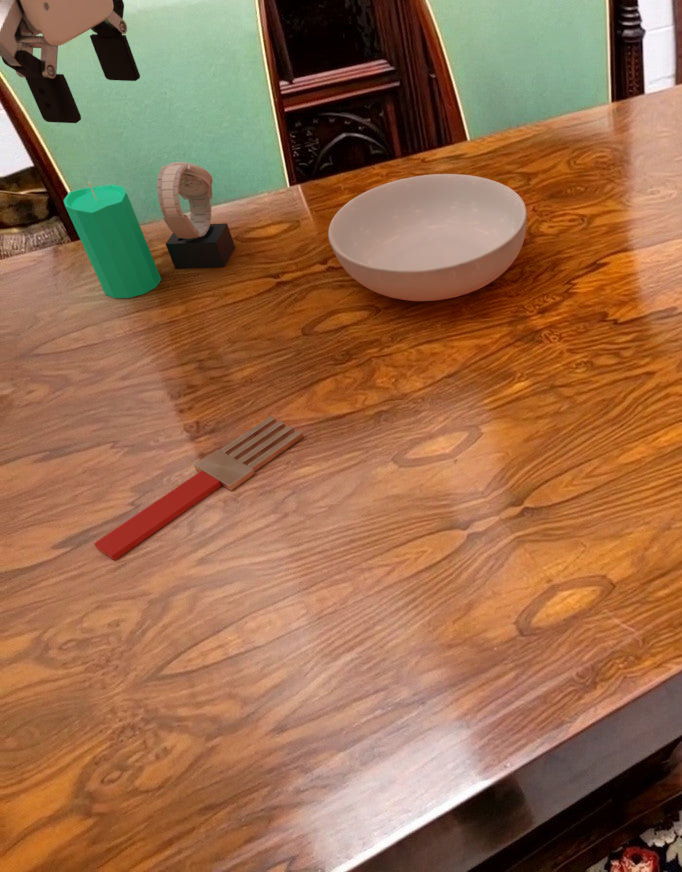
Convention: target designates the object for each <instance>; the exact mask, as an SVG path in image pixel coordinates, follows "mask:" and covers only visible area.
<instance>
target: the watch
mask: <svg viewBox="0 0 682 872" xmlns="http://www.w3.org/2000/svg"><path fill="white" fill-rule="evenodd" d="M156 187H157V189H156V190H157V196H158V204H159V208H160V210H161V213H162V216H163V217H162V219H163V222H165V224H166V225H167V227H168V229H169V230H170V231H171V232H172V233H171V235H170V237H169V238H168V239H167V240H166V242H165V246H166V249H167V251H168V254H169V257H170V259H171V262H172V264H173V267H174V269H205V268H225V267H226V266H227V263H228V261H229V260H230V258H231V256H232V254H233V252H234V251H235V249H236V245H235V243H234V239H233V237H232V233H231V231H230V228H229V224H228V223H227V222H226V223H225V222H223V223H211V222H212V204H211V203H212V202H211V200H212V199H213V176H212V174H211V173H210V172H209V171H208V170H207V169H205V168H204V167H203V166H202V167H201V166H199V165H197V164H195V163H190V162H186V161H174V162H171V163H168V164H166V165H162V166H161V169H160V170H159V173H158V175H157V181H156ZM180 197H181V198H182V199H183V200H185V201H187V200H188V204H189V205H188V206H189V212H190V214H189V217H188V215H187V214H184V213H183V210H182V206H181V202H180Z"/></svg>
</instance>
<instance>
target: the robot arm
mask: <svg viewBox="0 0 682 872" xmlns="http://www.w3.org/2000/svg"><path fill="white" fill-rule="evenodd" d="M124 11H125V2H124V1H123V0H0V58H1V60H2V62H3V63H4V64H5V65H6V66H7V67H9V68H11V69H12V70H13V71H15V73H16V75H17V76H18V77H20V78H25V79H24V80H26V83H27V85H28V88H29V91H30V92H31V94H32V97H33V100H34V102H35V103H36V106H37V108H38V110H39V113H40V115H41V118H42V119H43V121H45V122H48V123H57V124H59V123H60V124H61V123H62V124H77V123H79V122H80V121H81V120H82V115H81V113H80V111H79V108H78V105H77V103H76V101H75V98H74V96H73V94H72V93H73V92H72V91H71V88H70V86H69V83H68V81H67V78H66V76H65V75H64V74H63V73H58V71H57V70H58V56H59V55H58V53H59V46H62V45H65V44H67V43H69V42H70V41H72V40H74V39H76V38H77V37H79V36H81V35H82V34H84V33H86V32H88V31H89V30H91V31H92V32H93V33H92V34H90V35H89V38H90V42H91V44H92V47H93V49H94V52H95V54H96V57H97V60H98V62H99V65H100V67H101V70H102V72H103V75H104V78H105V79H106V80H109V81H122V82H123V81H124V82H137V81H139V79H140V78H141V74H140V72H139V71H140V70H139V68H138V66H137V63H136V60H135V57H134V55H133V52H132V49H131V47H130V42H129V41H128V38H127V35H126V34H127V32H128V24H127V23H126V21H125V20H124V19H123V18H124V13H125V12H124ZM34 49H40V58H38V57H37V56H36V55H34Z"/></svg>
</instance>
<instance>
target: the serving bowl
mask: <svg viewBox="0 0 682 872" xmlns="http://www.w3.org/2000/svg"><path fill="white" fill-rule="evenodd" d="M527 224H528V211H527V206H526V204H525V202H524V200H523V198H522V197H521V195H520V194H518V192H516V190H514V189H512V188H511V187H509V186H507V185H505V184H504V183H501V182H498V181H496V180H492V179H490V178H487V177H482V176H476V175H472V174H471V175H470V174H462V173H461V174H457V173H435V174H434V173H433V174H423V175H416V176H410V177H405V178H400V179H396V180H393V181H390V182H387V183H383V184H381V185H378V186H376V187H373V188H371V189H369V190H366V191H364V192H361V193H360V194H359V195H357V196H355V197H354V198H353V199H351V200H349V201H347V203H345V204H344V205H343V206H342V207H340V208H339V210H338V211H337V212H336V213H335V215H334V216H333V217H332V219H331V221H330V223H329V226H328V231H327V235H328V242H329V245H330V247H331V249H332V251H333V254H334V255H335V258H336V259H337V260H338V262H339V264H340V265H341V267H342V268H343V269H344V270H345V272H346V273H347V274H348V275H349V276H350V277H351V278H352V279H353V280H355V281H356V282H358V284H360V285H361V286H363V287H365V288H367V289H369V290H370V291H372V292H375V293H377V294H378V295H382V296H384V297H387V298H392V299H395V300H396V299H397V300H402V301H412V302H432V301H442V300H448V299H453V298H456V297H461V296H465V295H467V294H470V293H472V292H475V291H478V290H479V289H481V288H483V287H486V286H487V285H489V284H491V283H492V282H494V281H496V280H497V279H498V278H499V277H500V276H501V275H503V274H504V273H505V272H506V271H507V270H508V269H509V268H510V267H511V266H512V264H513V263H514V261H516V259H517V257H518V255H519V253H520V252H521V249H522V247H523V245H524V241H525V238H526V235H527V234H526V232H527Z"/></svg>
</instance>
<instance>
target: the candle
mask: <svg viewBox="0 0 682 872" xmlns="http://www.w3.org/2000/svg"><path fill="white" fill-rule="evenodd" d="M87 183H88V186H89V187H82V188H79V189H75V190H72V191H68V193H67V195H66V196H65V197H64V199H63V200H62V201H63V204H64V207H65V209H66V211H67V214H68V216H69V218H70V220H71V222H72V224H73V227H74V229H75V231H76V233H77V236H78V237H79V240H80V242H81V245H82V246H83V249H84V251H85V253H86V255H87V257H88V260H89V262H90V264H91V266H92V269H93V271H94V273H95V275H96V277H97V279H98V282H99V284H100V286H101V288H102V291H103V293H104V294H105V296H108V297H110V298H113V299H131V298H135V297H138V296H141V295H146V294H147V293H149V292H150V291H152V290H154V289H156V288H157V287H158V286H159V284H160V283H161V281H162V280H163V279H162V276H161V274H160V272H159V269H158V267H157V265H156V261H155V259H154V257H153V255H152V252H151V250H150V247H149V244H148V242H147V240H146V238H145V235H144V233H143V230H142V228H141V225H140V222H139V220H138V217H137V214H136V212H135V211H134V208H133V205H132V203H131V201H130V198H129V196H128V193H127V191H126V188H125V187H124V186H121V185H117V184H107V185H97V186H93V185H92V184H91V182H90V181H88V182H87Z"/></svg>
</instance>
